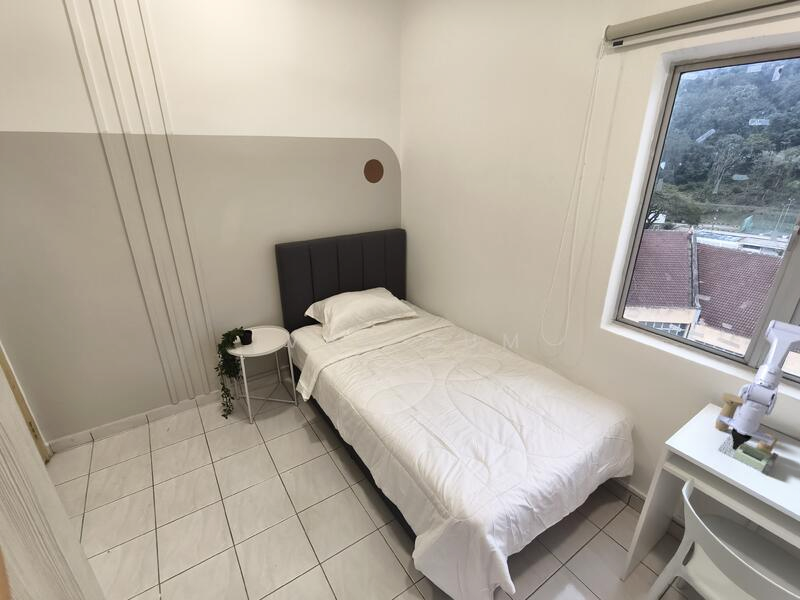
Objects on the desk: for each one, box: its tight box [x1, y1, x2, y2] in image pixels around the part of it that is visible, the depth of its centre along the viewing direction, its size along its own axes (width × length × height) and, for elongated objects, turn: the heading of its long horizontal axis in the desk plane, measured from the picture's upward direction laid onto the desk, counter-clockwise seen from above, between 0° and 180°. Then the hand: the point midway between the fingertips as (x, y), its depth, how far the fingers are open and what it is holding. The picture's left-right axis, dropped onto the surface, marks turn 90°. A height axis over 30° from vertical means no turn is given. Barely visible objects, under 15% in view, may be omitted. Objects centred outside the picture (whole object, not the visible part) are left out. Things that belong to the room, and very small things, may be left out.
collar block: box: [733, 442, 772, 472], centre depth 124 cm, size 7×7×2 cm
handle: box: [714, 392, 744, 433], centre depth 136 cm, size 5×6×15 cm
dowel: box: [755, 433, 778, 456], centre depth 126 cm, size 4×4×7 cm
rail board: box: [717, 434, 779, 476], centre depth 127 cm, size 14×13×5 cm
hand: (735, 448), depth 128 cm, fingers closed
